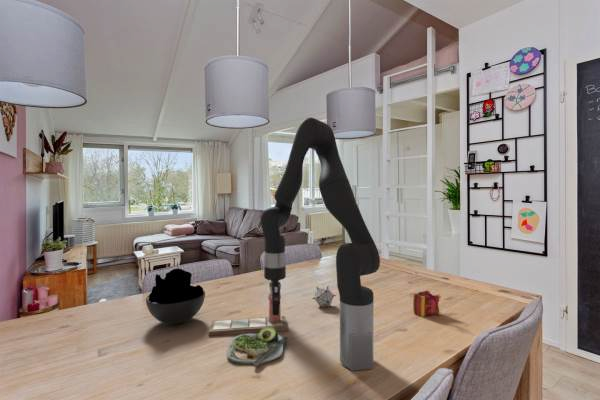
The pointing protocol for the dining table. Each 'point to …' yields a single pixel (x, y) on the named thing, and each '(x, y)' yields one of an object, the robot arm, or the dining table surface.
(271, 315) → the pawn
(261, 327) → the board
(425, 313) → the book monster
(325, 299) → the game die
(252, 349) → the salad plate
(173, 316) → the coal bowl
